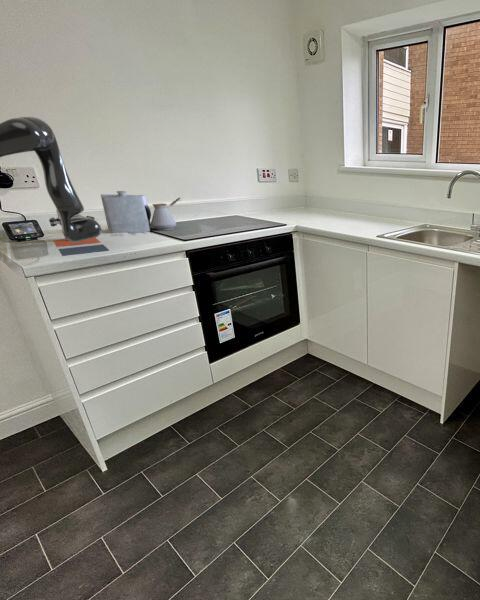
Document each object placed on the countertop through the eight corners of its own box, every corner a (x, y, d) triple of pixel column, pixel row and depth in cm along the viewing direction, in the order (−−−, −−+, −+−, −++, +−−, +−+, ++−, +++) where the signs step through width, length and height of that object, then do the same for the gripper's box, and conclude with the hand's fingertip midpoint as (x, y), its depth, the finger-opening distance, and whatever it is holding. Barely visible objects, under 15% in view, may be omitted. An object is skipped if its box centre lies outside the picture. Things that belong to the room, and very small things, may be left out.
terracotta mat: (57, 248, 141) (57, 247, 141) (53, 241, 152) (52, 240, 152) (101, 243, 151) (101, 242, 151) (94, 237, 162) (94, 236, 162)
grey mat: (62, 256, 131) (61, 254, 131) (58, 250, 139) (58, 249, 138) (109, 250, 141) (108, 249, 141) (103, 245, 148) (103, 244, 148)
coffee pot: (166, 231, 180) (160, 201, 174) (146, 230, 181) (139, 200, 176) (194, 225, 200) (190, 197, 194) (176, 223, 201) (171, 197, 196)
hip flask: (149, 230, 181) (140, 190, 174) (151, 231, 178) (141, 190, 171) (111, 233, 171) (99, 190, 164) (111, 234, 169) (100, 191, 161)
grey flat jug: (154, 228, 187) (147, 194, 180) (151, 230, 182) (143, 194, 176) (112, 228, 182) (103, 193, 175) (107, 230, 177) (98, 194, 171)
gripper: (96, 212, 139) (89, 208, 150) (47, 215, 129) (43, 210, 140) (101, 231, 142) (94, 226, 153) (53, 235, 132) (49, 229, 143)
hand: (70, 218), depth 146 cm, fingers closed on steel canister, 5 cm apart
